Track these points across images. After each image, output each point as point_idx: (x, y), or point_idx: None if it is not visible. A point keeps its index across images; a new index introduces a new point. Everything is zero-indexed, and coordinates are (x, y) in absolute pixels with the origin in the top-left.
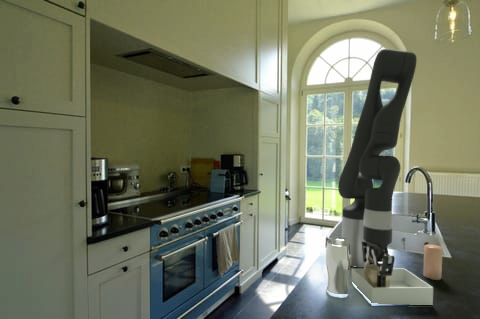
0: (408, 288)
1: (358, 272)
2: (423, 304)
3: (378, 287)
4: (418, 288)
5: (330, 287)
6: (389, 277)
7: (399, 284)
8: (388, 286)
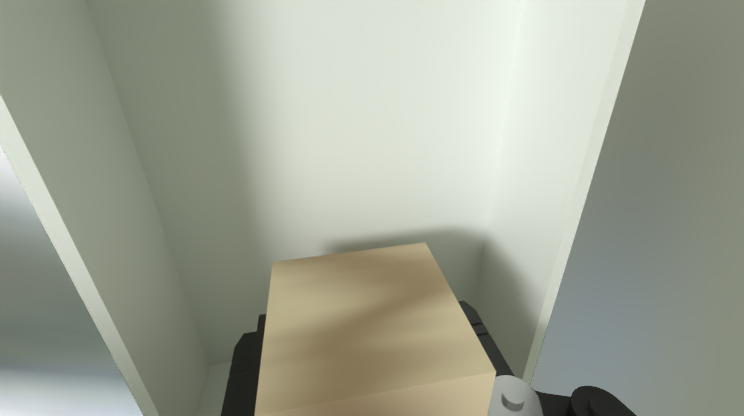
0: (589, 168)
1: (180, 408)
2: None
3: (522, 376)
4: (623, 55)
5: None
6: (464, 315)
7: (172, 7)
8: (431, 261)
